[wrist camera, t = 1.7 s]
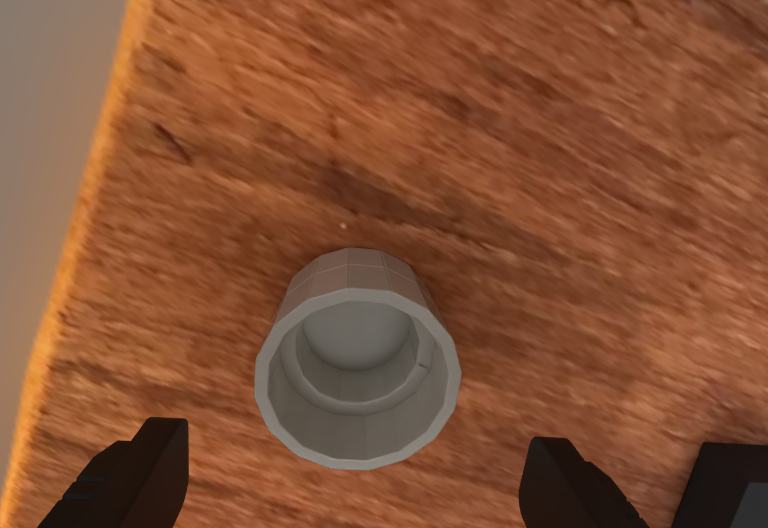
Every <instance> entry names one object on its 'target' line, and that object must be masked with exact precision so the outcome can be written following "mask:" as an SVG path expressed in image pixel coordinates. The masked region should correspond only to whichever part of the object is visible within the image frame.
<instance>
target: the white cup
mask: <svg viewBox="0 0 768 528" xmlns="http://www.w3.org/2000/svg"><path fill="white" fill-rule="evenodd" d="M461 373H462V371H461V367H460V363H459V360H458V356H457V352H456V348H455V344H454V340H453V338H452V336H451V334H450V332H449V330H448V328H447V326H446V324H445V322H444V320H443V318H442V316H441V314H440V312H439V310H438V309H437V307H436V305H435V303H434V301H433V299H432V297H431V295H430V293H429V291H428V289H427V287H426V285H425V284H424V283H423V282H422V281H421V279H420V278H419V277H418V276H417V274H416V273H415V272H414V271H413V269H412V268H411V267H410V266H408V264H406V263H405V262H403V261H401V260H399V259H397V258H395V257H393V256H391V255H389V254H387V253H385V252H384V251H380V250H373V249H363V248H352V247H351V248H344V249H341V250H338V251H334V252H331V253H327V254H324V255H321V256H319V257H317V258H315V259H314V260H313V261H311V262H310V263H309V264H308V265H307V266H305V267H304V268H303V269H302V270H300V271H299V272H298V273H297V274H295V276H293V278H292V279H291V281H290V283H289V285H288V287H287V289H286V291H285V293H284V295H283V297H282V298H281V300H280V303H279V305H278V307H277V310H276V312H275V315H274V317H273V319H272V322H271V324H270V326H269V329H268V331H267V334H266V336H265V338H264V341H263V343H262V346H261V348H260V350H259V353H258V355H257V358H256V361H255V384H254V396H255V400H256V402H257V405H258V407H259V409H260V412H261V414H262V416H263V418H264V421H265V423H266V425H267V428H268V429H269V431H270V432H271V433H272V434H273V435H274V436H275V437H276V438H278V439H279V440H280V441H281V442H282V443H283V444H284V445H285V446H286V447H287V448H288V449H289V450H291V451H292V452H293V453H294V454H296V455H297V456H299V457H302V458H304V459H307V460H309V461H312V462H314V463H317V464H319V465H322V466H324V467H327V468H331V469H345V470H368V469H369V470H372V469H375V468H379V467H382V466H386V465H389V464H393V463H396V462H400V461H403V460H404V459H407V458H409V457H410V456H411V455H413V454H414V453H416V452H417V451H418V450H420V449H421V448H423V447H424V446H426V445H427V444H428V443H430V442H431V441H433V440H434V439H435V438H436V437H437V435H438V434H439V432H440V431H441V429H442V428H443V426H444V425H445V423H446V422H447V420H448V419H449V418H450V416H451V415H452V413H453V412H454V410H455V408H456V403H457V398H458V392H459V387H460V382H461V376H462V374H461Z"/></svg>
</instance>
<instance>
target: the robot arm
mask: <svg viewBox="0 0 768 528" xmlns="http://www.w3.org/2000/svg"><path fill="white" fill-rule="evenodd" d="M188 478H189V447H188V422H187V420H186V419H183V418H162V417H150V418H148V419H147V420H146V421H145V423H144V424H143V425H142V427H141V428H140V429H139V431H138V432H137V434H136V435H135V436H134V438H133V439H132V441H119V440H118V441H116V442H115V443H113V444H112V445H110V446H109V447H108V448H106V449H105V450H103V451H102V452H100V453H99V454H97V455H96V456H95V457H93V459H92V460H91V461H90V462H89V463H88V465H87V466H86V467H85V468H84V470H83V471H82V472H81V473H80V475H79V476H78V477H77V480H76V482H73V483H72V485H71V486H70V487H69V488H68V490H67V491H66V492H65V493H64V495H63V498H62V500H59V501H58V502H57V503H56V505H55V506H54V507H53V508H52V510H51V511H50V512H49V513H48V515H47V516H46V517H45V518H44V520H43V521H42V522H41V523H40V524H39V526H38V527H37V528H173V526H174V523H175V521H176V519H177V517H178V515H179V512H180V510H181V508H182V505H183V503H184V499H185V496H186V491H187V486H188ZM519 506H520V511H521V515H522V518H523V520H524V522H525V525H526V527H527V528H649V526H648V525H647V524H646V522H645V521H644V520H643V519H642V518H640V517H639V513H638V512H637V511H636V509H635V508H634V507H633V506H632V504H631V503H630V502H627V500H626V497H625V495H624V494H623V493H622V491H621V490H620V489H619V488H618V486H617V485H616V484H615V482H614V481H613V480H612V479H611V478H610V477H609V476H608V475H606V474H605V473H604V472H603V471H601V470H600V469H599V468H598V467H596V466H595V465H594V464H593V463H591V462H586V461H584V459H583V458H582V456H581V455H580V454H579V452H578V451H577V450H576V448H575V447H574V446H573V444H572V443H571V442H570V441H569V440H568V439H566V438H555V437H534V438H533V439H532V440H531V442H530V445H529V449H528V454H527V458H526V462H525V466H524V471H523V475H522V479H521V483H520V488H519Z"/></svg>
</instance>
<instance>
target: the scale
mask: <svg viewBox="0 0 768 528" xmlns="http://www.w3.org/2000/svg"><path fill="white" fill-rule="evenodd" d="M672 528H768V446H757V445H737V444H718V443H704V444H703V447H702V450H701V452H700V455H699V458H698V460H697V463H696V465H695V468H694V471H693V473H692V476H691V479H690V481H689V484H688V487H687V489H686V492H685V494H684V497H683V500H682V502H681V505H680V508H679V510H678V513H677V516H676V518H675V521H674V523H673V526H672Z"/></svg>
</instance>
